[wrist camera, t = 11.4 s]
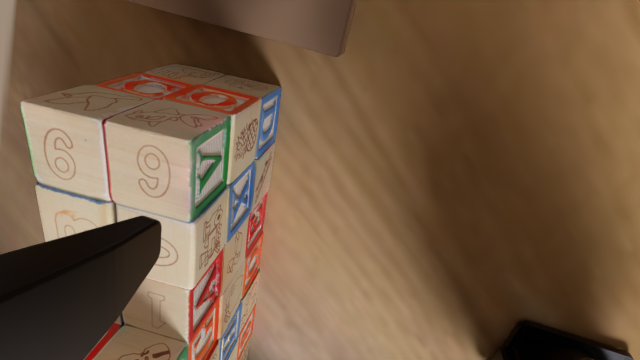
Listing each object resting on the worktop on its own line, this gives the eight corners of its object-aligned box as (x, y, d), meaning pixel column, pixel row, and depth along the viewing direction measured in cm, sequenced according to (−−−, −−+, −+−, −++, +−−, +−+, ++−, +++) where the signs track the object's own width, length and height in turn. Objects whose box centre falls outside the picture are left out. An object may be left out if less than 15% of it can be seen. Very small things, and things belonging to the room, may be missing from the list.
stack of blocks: (173, 59, 21) (-94, 121, 10) (284, 84, 20) (135, 180, 9) (173, 339, 30) (38, 532, 19) (249, 362, 29) (155, 576, 18)
